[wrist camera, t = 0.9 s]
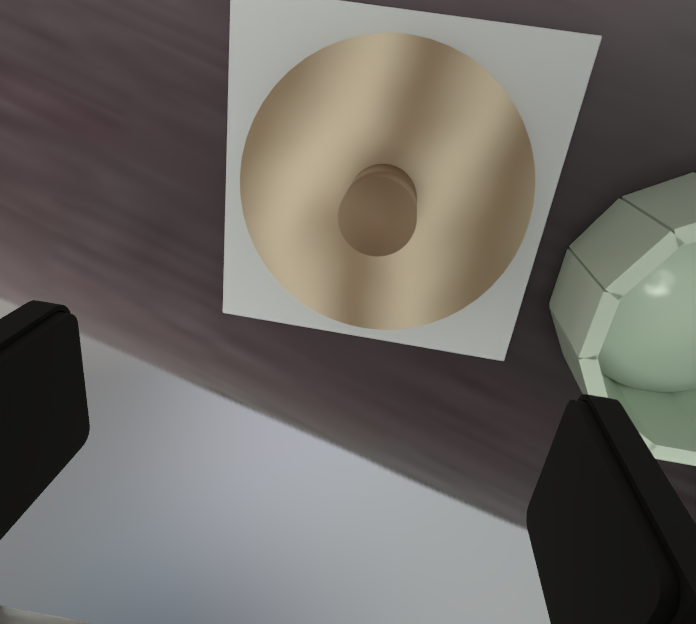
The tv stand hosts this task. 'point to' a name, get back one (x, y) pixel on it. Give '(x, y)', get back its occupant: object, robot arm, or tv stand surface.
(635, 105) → the tv stand surface
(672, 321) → the bowl
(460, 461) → the tv stand surface
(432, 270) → the lid
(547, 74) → the mat
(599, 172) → the tv stand surface
